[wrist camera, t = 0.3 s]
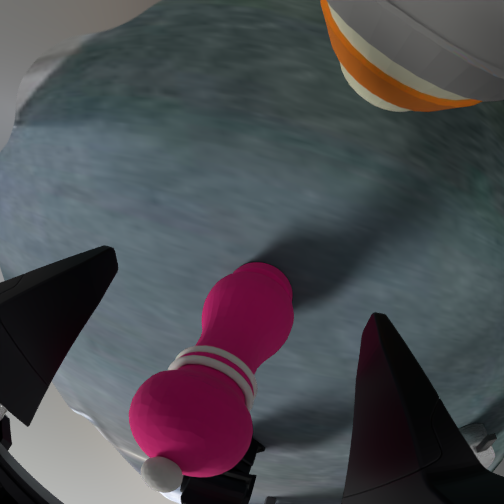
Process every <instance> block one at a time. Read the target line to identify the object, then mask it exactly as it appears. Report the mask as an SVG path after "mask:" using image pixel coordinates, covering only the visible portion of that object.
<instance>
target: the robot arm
mask: <svg viewBox="0 0 504 504" xmlns="http://www.w3.org/2000/svg"><path fill="white" fill-rule="evenodd" d="M117 271H118V263H117V258H116V253H115V250H114V248H112V247H109V246H105V245H104V246H101V247H98V248H95V249H92V250H89V251H86V252H83V253H80V254H77V255H74V256H71V257H68V258H65V259H63V260H60V261H57V262H54V263H52V264H49V265H46V266H43V267H41V268H38V269H35V270H33V271H30V272H27V273H25V274H22V275H20V276H17V277H14V278H12V279H9V280H6V281H4V282H1V283H0V504H64V503H62V502H61V501H60V500H59V499H57V498H56V497H55V496H53V495H52V494H51V493H50V492H49V491H48V490H47V489H45V488H44V487H43V486H42V485H41V484H40V483H39V482H38V481H36V480H35V479H34V478H33V477H32V476H31V475H30V474H29V473H28V472H27V471H26V470H25V469H24V468H23V467H22V466H21V465H20V464H19V463H18V462H17V461H16V460H15V459H14V457H13V456H11V454H10V453H9V452H8V450H9V448H10V446H11V445H12V441H11V432H10V419H9V418H8V417H7V416H6V414H5V413H6V412H7V410H8V411H9V412H10V413H12V414H13V415H14V416H15V417H16V418H17V419H19V420H20V421H21V422H23V423H24V424H25V425H26V426H27V427H28V426H29V425H30V423H31V421H32V419H33V417H34V415H35V413H36V411H37V409H38V406H39V405H40V403H41V400H42V398H43V397H44V394H45V393H46V391H47V389H48V387H49V385H50V383H51V381H52V379H53V377H54V376H55V374H56V372H57V370H58V369H59V367H60V365H61V363H62V362H63V360H64V358H65V356H66V355H67V353H68V351H69V350H70V348H71V346H72V345H73V343H74V342H75V340H76V338H77V337H78V335H79V334H80V332H81V330H82V329H83V327H84V326H85V324H86V323H87V321H88V320H89V318H90V316H91V315H92V313H93V312H94V310H95V309H96V308H97V306H98V304H99V303H100V301H101V299H102V298H103V296H104V294H105V292H106V290H107V289H108V287H109V285H110V283H111V282H112V280H113V278H114V277H115V275H116V273H117ZM263 451H265V447H263V446H262V445H261V444H259V443H258V442H256V441H255V440H254V439H251V443H250V446H249V448H248V450H247V452H246V453H245V455H244V456H243V458H242V459H241V460H240V461H239V462H238V463H237V464H236V465H235V466H234V467H233V468H232V469H230V470H228V471H226V472H224V473H222V474H219V475H215V476H211V477H192V476H186V475H183V480H182V483H181V489H180V491H181V492H183V493H182V495H181V503H182V504H248V503H249V500H250V497H251V494H252V490H253V487H254V483H255V479H256V476H257V475H251V474H249V472H250V469H251V466H253V463H254V460H255V457H256V453H259V452H263ZM341 504H504V477H503V476H500V475H497V474H495V473H493V472H491V471H489V470H487V469H486V468H485V467H484V466H483V465H482V464H481V463H480V461H479V460H478V458H477V457H476V455H475V454H474V452H473V450H472V449H471V447H470V446H469V444H468V443H467V441H466V440H465V438H464V437H463V435H462V434H461V432H460V430H459V429H458V427H457V426H456V424H455V423H454V421H453V419H452V418H451V416H450V414H449V413H448V411H447V409H446V408H445V406H444V404H443V402H442V401H441V399H439V396H438V394H437V392H436V391H435V389H434V387H433V386H432V384H431V382H430V381H429V379H428V377H427V376H426V374H425V373H424V371H423V369H422V368H421V366H420V365H419V363H418V362H417V360H416V358H415V357H414V355H413V354H412V352H411V351H410V349H409V348H408V346H407V345H406V343H405V342H404V340H403V339H402V337H401V336H400V334H399V333H398V331H397V330H396V328H395V327H394V325H393V324H392V323H391V321H390V320H389V318H388V317H387V316H386V315H385V314H382V313H377V312H374V313H373V314H372V315H371V317H370V319H369V321H368V323H367V325H366V326H365V328H364V330H363V333H362V338H361V347H360V355H359V362H358V369H357V376H356V388H355V405H354V418H353V429H352V439H351V448H350V456H349V463H348V470H347V476H346V482H345V488H344V493H343V498H342V503H341Z"/></svg>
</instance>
